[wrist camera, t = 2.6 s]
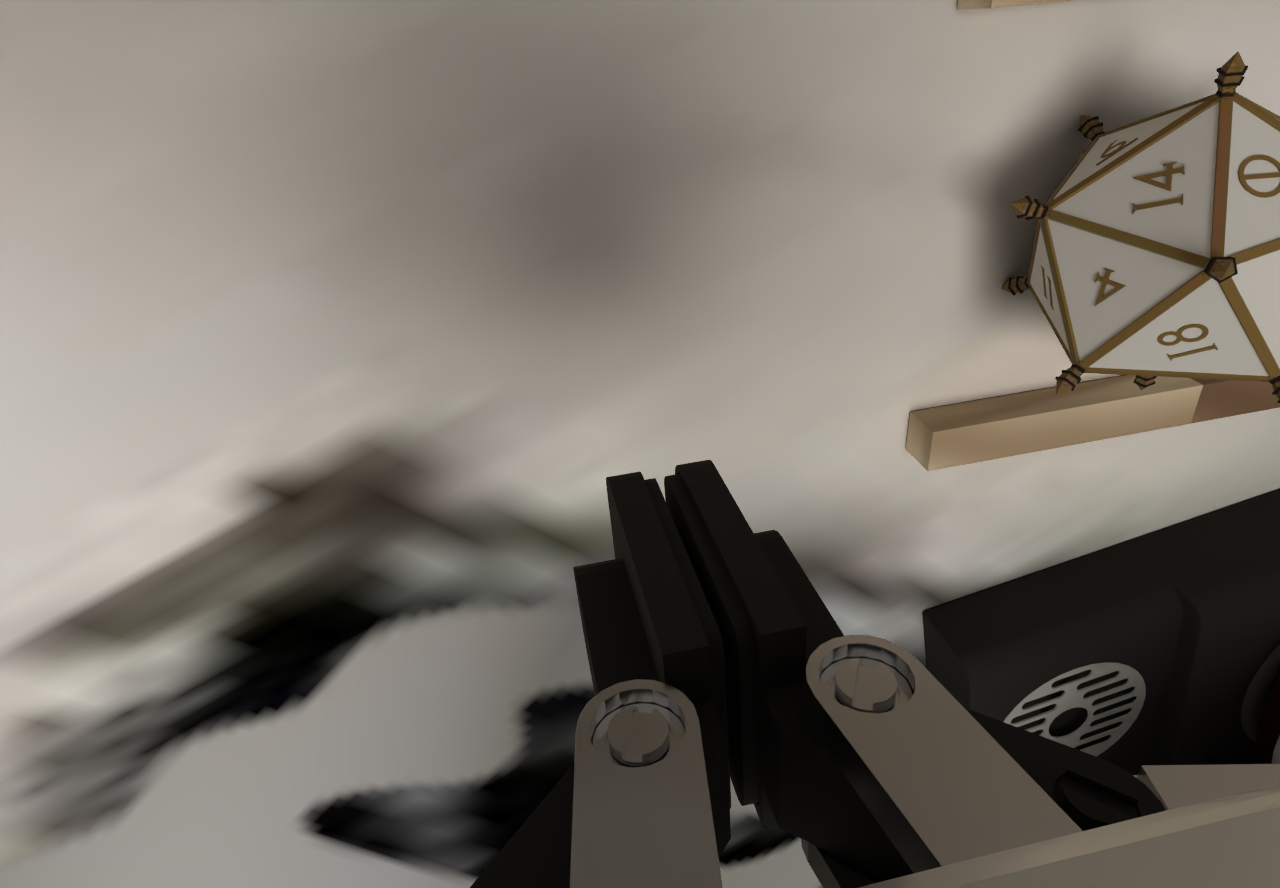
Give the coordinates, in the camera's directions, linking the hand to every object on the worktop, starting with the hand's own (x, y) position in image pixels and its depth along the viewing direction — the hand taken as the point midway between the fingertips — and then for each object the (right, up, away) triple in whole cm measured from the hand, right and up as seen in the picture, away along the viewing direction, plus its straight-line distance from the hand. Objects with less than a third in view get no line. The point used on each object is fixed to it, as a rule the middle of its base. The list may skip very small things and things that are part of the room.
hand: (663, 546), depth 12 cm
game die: (+13, +9, +12) cm, 20 cm away
